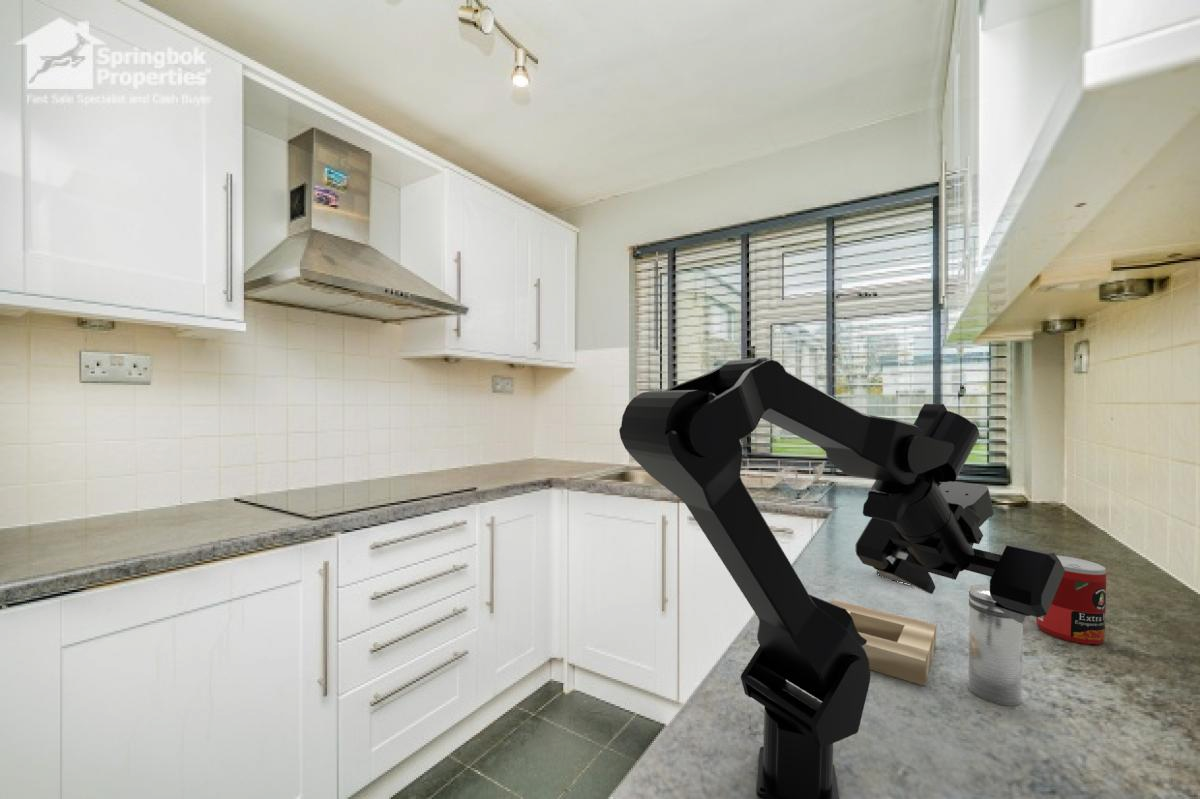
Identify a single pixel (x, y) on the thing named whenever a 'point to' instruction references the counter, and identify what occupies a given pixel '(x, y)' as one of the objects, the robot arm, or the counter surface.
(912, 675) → the tan square ring
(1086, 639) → the canned food
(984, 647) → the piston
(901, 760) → the counter surface
